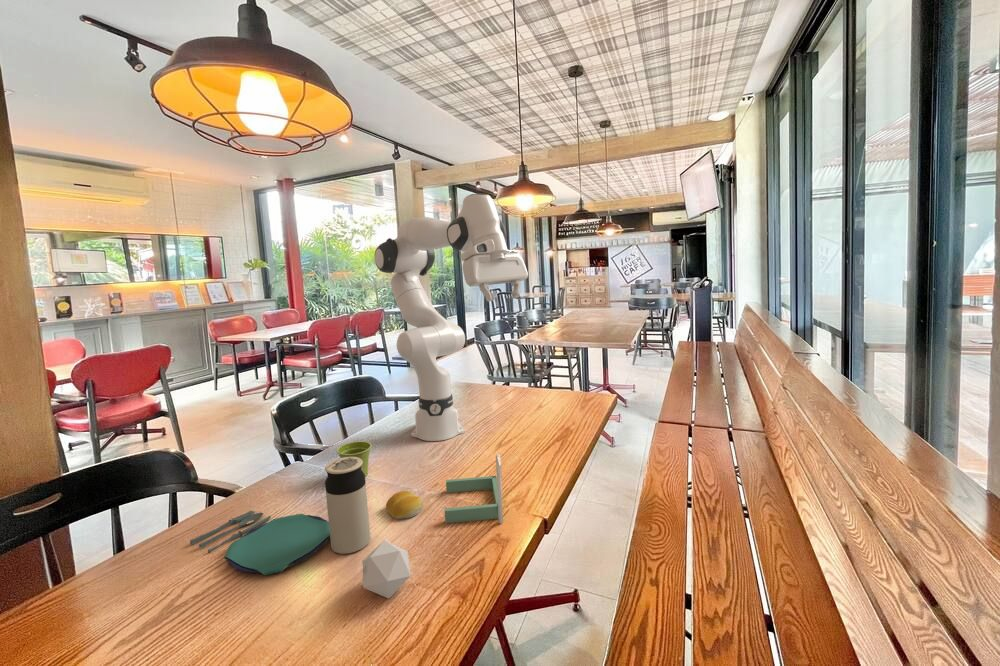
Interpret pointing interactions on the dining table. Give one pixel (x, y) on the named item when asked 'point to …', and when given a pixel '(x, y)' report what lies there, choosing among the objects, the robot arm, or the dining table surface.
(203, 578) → the dining table surface
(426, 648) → the dining table surface
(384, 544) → the die
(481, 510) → the green pocket
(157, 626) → the dining table surface
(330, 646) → the dining table surface
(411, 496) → the bread roll
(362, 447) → the plant pot
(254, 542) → the cutlery set
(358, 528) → the travel mug
